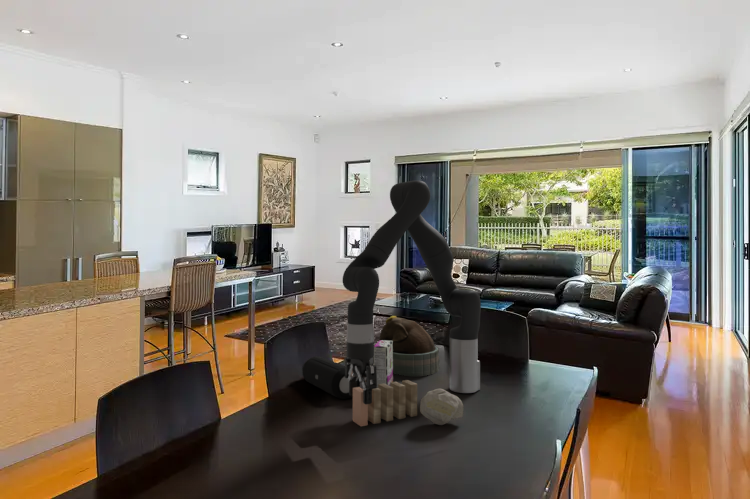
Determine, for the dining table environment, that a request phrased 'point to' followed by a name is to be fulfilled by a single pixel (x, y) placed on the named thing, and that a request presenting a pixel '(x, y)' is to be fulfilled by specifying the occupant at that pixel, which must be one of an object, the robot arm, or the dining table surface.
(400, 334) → the elephant in basket
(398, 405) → the tile
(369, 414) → the tile
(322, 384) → the portable speaker
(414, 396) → the tile
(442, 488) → the dining table surface
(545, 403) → the dining table surface
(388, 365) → the candy bar box
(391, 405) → the tile
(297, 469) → the dining table surface
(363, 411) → the tile
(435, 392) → the fossil replica
